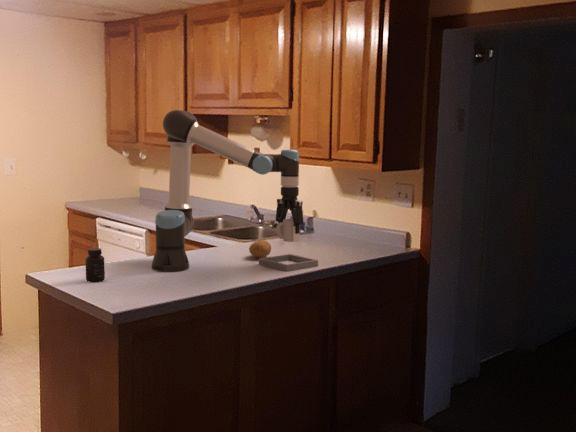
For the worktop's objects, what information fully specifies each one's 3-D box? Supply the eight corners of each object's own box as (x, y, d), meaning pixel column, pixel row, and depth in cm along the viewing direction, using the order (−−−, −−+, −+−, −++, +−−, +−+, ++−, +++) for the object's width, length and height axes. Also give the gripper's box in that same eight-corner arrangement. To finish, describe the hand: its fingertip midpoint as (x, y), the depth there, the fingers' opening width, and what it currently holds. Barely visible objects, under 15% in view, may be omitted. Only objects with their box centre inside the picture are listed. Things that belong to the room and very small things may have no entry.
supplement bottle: (82, 280, 245) (81, 248, 244) (99, 277, 250) (98, 246, 249) (91, 283, 240) (90, 251, 239) (108, 280, 245) (107, 249, 244)
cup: (300, 242, 276) (300, 221, 274) (276, 241, 275) (276, 220, 274) (299, 239, 283) (299, 218, 282) (275, 239, 282) (276, 218, 281)
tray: (286, 271, 267) (286, 265, 267) (258, 264, 280) (258, 258, 280) (318, 265, 279) (318, 260, 279) (289, 259, 292) (289, 253, 292)
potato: (273, 255, 301) (273, 238, 300) (268, 261, 288) (269, 243, 287) (252, 254, 302) (252, 237, 301) (247, 260, 289) (247, 242, 288)
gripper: (313, 187, 270) (312, 242, 273) (280, 184, 285) (279, 235, 288) (299, 188, 265) (299, 243, 268) (267, 185, 280) (266, 237, 283)
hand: (289, 239), depth 278 cm, fingers closed on cup, 8 cm apart
